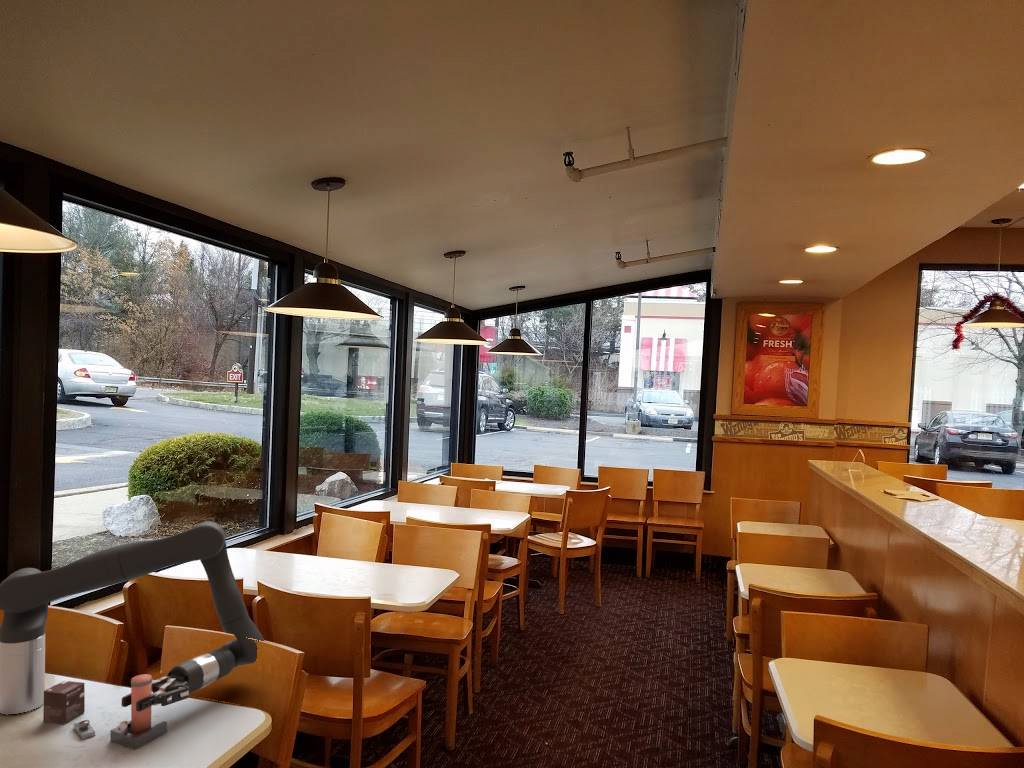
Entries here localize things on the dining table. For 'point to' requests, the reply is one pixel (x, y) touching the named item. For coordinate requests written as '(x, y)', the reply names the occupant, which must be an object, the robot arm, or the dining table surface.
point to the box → (64, 702)
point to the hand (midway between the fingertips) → (130, 704)
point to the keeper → (132, 741)
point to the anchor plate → (84, 729)
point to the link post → (138, 692)
